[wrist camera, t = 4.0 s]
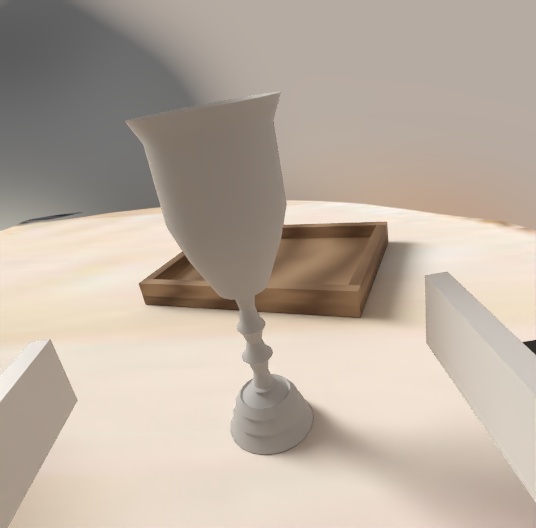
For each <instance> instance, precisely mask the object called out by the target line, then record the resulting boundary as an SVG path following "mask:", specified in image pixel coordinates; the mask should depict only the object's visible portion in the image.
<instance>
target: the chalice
mask: <svg viewBox="0 0 536 528" xmlns="http://www.w3.org/2000/svg"><path fill="white" fill-rule="evenodd" d="M280 93H281V92H272V93H266V94H259V95H253V96H247V97H241V98H235V99H230V100H224V101H219V102H214V103H208V104H202V105H197V106H192V107H187V108H182V109H177V110H172V111H167V112H161V113H156V114H152V115H147V116H143V117H138V118H134V119H130V120H126V121H125V122H126V123H127V125H128V126H129V127H130V128H131V129H132V131H133V132H134V133H135V134H136V136H137V137H138V138H139V139H140V141H141V142H142V143H143V144H144V148H145V151H146V155H147V159H148V162H149V166H150V169H151V173H152V176H153V180H154V184H155V187H156V191H157V195H158V198H159V201H160V205H161V209H162V212H163V216H164V220H165V223H166V226H167V228H168V230H169V231H170V233H171V234H172V236H173V237H174V239H175V240H176V242H177V244H178V245H179V247H180V248H181V250H182V251H183V253H184V254H185V256H186V257H187V259H188V260H189V262H190V263H191V264H192V265H193V266H194V268H195V269H196V270H197V271H198V272H199V273H200V275H201V276H202V277H203V278H204V279H205V280H206V281H207V283H208V284H209V285H210V286H211V287H212V288H213V289H214V291H215V292H216V293H217V294H218V295H219V296H220V297H222V298H225V299H230V300H236V302H237V304H238V307H239V310H240V321H239V323H238V325H237V330H238V332H240V333H241V334H243V336H244V338H245V339H246V341H247V345H246V350H245V351H244V352H243V354H242V359H243V361H245V362H246V363H248V364H250V366H251V368H252V370H253V372H254V378H253V379H251V380H250V381H248V382H247V383H246V384H245V385H244V386H243V388H242V389H241V390H240V392H239V394H238V396H237V398H236V406H235V408H234V416H233V419H232V421H231V434H232V436H233V439H234V441H235V442H236V443H237V444H238V445H239V446H240V447H241V448H242V449H244V450H247V451H249V452H252V453H254V454H265V455H269V454H275V453H281V452H284V451H286V450H288V449H290V448H292V447H295V446H296V445H297V444H298V443H299V442H301V441H302V440H303V439H304V438H305V437H306V436H307V434H308V432H309V431H310V429H311V427H312V423H313V413H312V409H311V407H310V406H309V404H308V403H307V401H306V400H305V399H304V398H303V396H302V395H301V394H300V392H299V391H298V390H297V388H296V387H295V385H294V384H293V383H292V382H290V381H289V380H287V379H286V378H284V377H282V376H279V375H275V374H270V372H269V370H268V360H269V358H270V357H271V356H272V353H273V352H272V349H271V347H269V346H267V345H265V344H264V342H263V340H262V330H263V328H264V326H265V321H264V320H263V319H262V318H261V317H260V316H259V314H258V312H257V309H256V307H255V295H257V294H258V293H260V292H262V291H263V290H264V289H265V288H266V287H267V285H268V283H269V279H270V276H271V272H272V269H273V265H274V262H275V259H276V255H277V252H278V248H279V245H280V242H281V236H282V229H283V223H284V217H285V210H286V198H285V192H284V186H283V179H282V172H281V166H280V159H279V153H278V147H277V141H276V134H275V128H274V122H273V120H274V116H275V112H276V108H277V104H278V101H279V96H280Z"/></svg>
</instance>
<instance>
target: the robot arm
mask: <svg viewBox="0 0 536 528" xmlns="http://www.w3.org/2000/svg"><path fill="white" fill-rule="evenodd" d="M425 302H426V343H427V345H428V346H429V347H430V349H431V350H432V352H433V353H434V355H435V356H436V358H437V359H438V361H439V362H440V364H441V365H442V366H443V368H444V369H445V371H446V372H447V374H448V375H449V377H450V378H451V380H452V381H453V383H454V384H455V385H456V387H457V388H458V390H459V391H460V393H461V394H462V396H463V397H464V399H465V400H466V402H467V403H468V404H469V406H470V407H471V409H472V410H473V412H474V413H475V415H476V416H477V418H478V419H479V421H480V422H481V423H482V425H483V426H484V428H485V429H486V431H487V432H488V434H489V435H490V437H491V438H492V440H493V441H494V442H495V444H496V445H497V447H498V448H499V450H500V451H501V453H502V454H503V456H504V457H505V459H506V460H507V461H508V463H509V464H510V466H511V467H512V469H513V470H514V472H515V473H516V475H517V476H518V478H519V479H520V480H521V482H522V483H523V485H524V486H525V488H526V489H527V491H528V492H529V494H530V495H531V497H532V498H533V499H534V501H535V502H536V340H533V341H527V342H521V341H520V340H519V339H518V338H517V337H516V336H515V335H514V334H513V333H512V332H511V331H510V330H509V329H508V328H506V327H505V326H504V325H503V324H502V323H501V322H500V321H499V320H498V319H497V318H496V317H495V316H494V315H493V314H492V313H491V312H490V311H488V310H487V309H486V308H485V307H484V306H483V305H482V304H481V303H480V302H479V301H478V300H477V299H476V298H475V297H474V296H473V295H471V294H470V293H469V292H468V291H467V290H466V289H465V288H464V287H463V286H462V285H461V284H460V283H459V282H458V281H457V280H456V279H455V278H453V277H452V276H451V275H450V274H449V273H448V272H443V273H437V274H431V275H425ZM76 402H77V398H76V396H75V393H74V391H73V389H72V387H71V384H70V382H69V380H68V378H67V375H66V373H65V371H64V369H63V366H62V364H61V362H60V360H59V358H58V355H57V353H56V351H55V349H54V346H53V344H52V342H51V340H50V339H47V340H41V341H35V342H29V343H28V344H27V345H26V347H25V348H24V349H23V350H22V351H21V352H20V354H19V355H18V356H17V357H16V358H15V359H14V360H13V362H12V363H11V364H10V365H9V366H8V367H7V369H6V370H5V371H4V372H3V373H2V374H1V376H0V528H7V527H8V526H9V524H10V522H11V520H12V518H13V517H14V515H15V513H16V511H17V509H18V507H19V506H20V504H21V502H22V500H23V498H24V497H25V495H26V493H27V491H28V489H29V488H30V486H31V484H32V482H33V480H34V478H35V477H36V475H37V473H38V471H39V469H40V468H41V466H42V464H43V462H44V460H45V458H46V457H47V455H48V453H49V451H50V449H51V448H52V446H53V444H54V442H55V440H56V439H57V437H58V435H59V433H60V431H61V429H62V428H63V426H64V424H65V422H66V420H67V419H68V417H69V415H70V413H71V411H72V410H73V408H74V406H75V404H76Z"/></svg>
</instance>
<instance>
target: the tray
mask: <svg viewBox="0 0 536 528" xmlns="http://www.w3.org/2000/svg"><path fill="white" fill-rule="evenodd" d="M387 244H388V230H387V222H363V223H331V224H300V225H283V229H282V236H281V242H280V245H279V248H278V252H277V255H276V259H275V262H274V265H273V269H272V272H271V276H270V279H269V283H268V285H267V287H266V288H265V289H264V290H263V291H262V292H260V293H258V294H257V295H255V307H256V309H257V311H264V312H280V313H297V314H313V315H329V316H345V317H361V314H362V312H363V309H364V306H365V304H366V301H367V298H368V295H369V293H370V290H371V287H372V285H373V282H374V279H375V276H376V274H377V271H378V268H379V266H380V263H381V260H382V257H383V255H384V252H385V249H386V247H387ZM139 285H140V289H141V292H142V295H143V298H144V301H145V304H150V305H166V306H183V307H199V308H215V309H232V310H239V307H238V304H237V302H236V300H230V299H225V298H222V297H220V296H219V295H218V294H217V293H216V292H215V291H214V289H213V288H212V287H211V286H210V285H209V284H208V283H207V281H206V280H205V279H204V278H203V277H202V276H201V275H200V273H199V272H198V271H197V270H196V269H195V268H194V266H193V265H192V264H191V263H190V262H189V260H188V259H187V257H186V256H185V254H184V253H183V251H182V252H181V253H180V254H178V255H177V256H176V257H174V258H173V259H172V260H170V261H169V262H167V263H166V264H165V265H163V266H162V267H161V268H159V269H158V270H157V271H155V272H154V273H152V274H151V275H150V276H148V277H147V278H146V279H144V280H143V281H142V282H140V283H139Z"/></svg>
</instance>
